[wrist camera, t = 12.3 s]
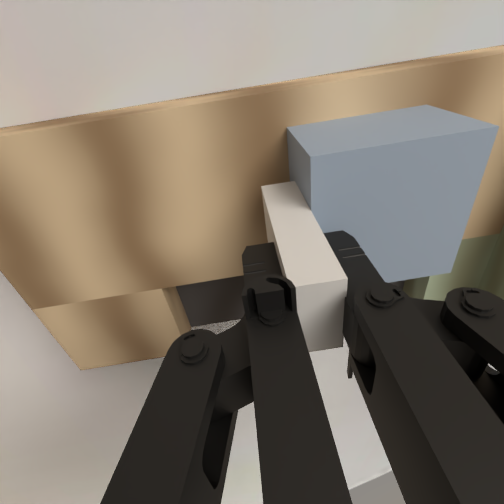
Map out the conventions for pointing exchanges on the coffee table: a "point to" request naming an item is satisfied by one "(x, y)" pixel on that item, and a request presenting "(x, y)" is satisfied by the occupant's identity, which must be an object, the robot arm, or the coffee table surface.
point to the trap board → (204, 200)
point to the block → (394, 183)
